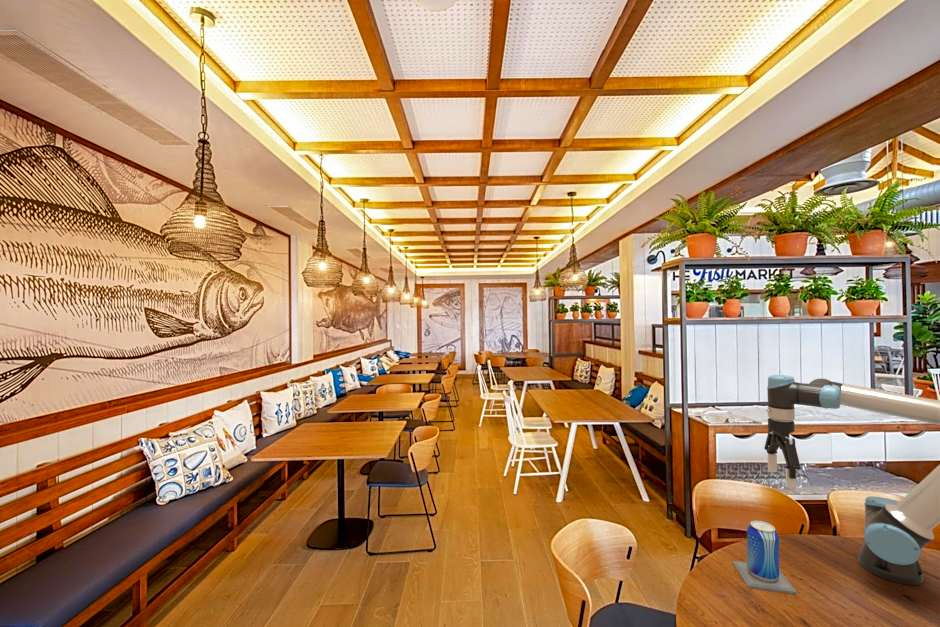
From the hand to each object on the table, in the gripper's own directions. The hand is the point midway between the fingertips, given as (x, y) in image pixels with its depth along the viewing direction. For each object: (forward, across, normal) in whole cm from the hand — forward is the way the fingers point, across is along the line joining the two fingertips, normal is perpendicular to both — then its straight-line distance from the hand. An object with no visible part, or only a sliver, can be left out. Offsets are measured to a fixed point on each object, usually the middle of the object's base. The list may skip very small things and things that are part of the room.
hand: (781, 479), depth 145 cm
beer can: (+26, +16, -12) cm, 33 cm away
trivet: (+27, +16, -12) cm, 33 cm away
